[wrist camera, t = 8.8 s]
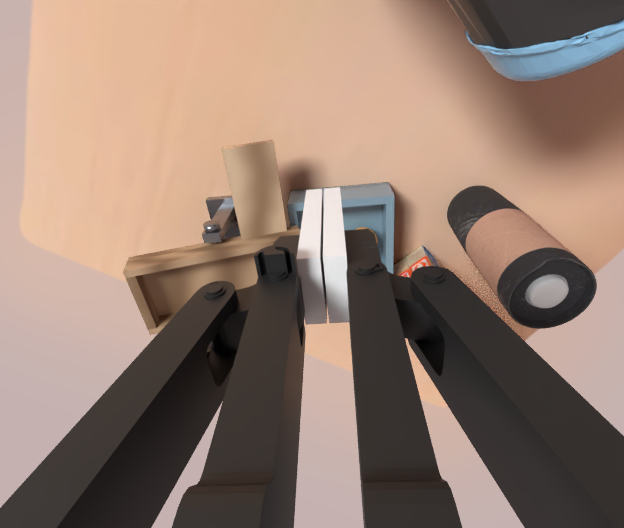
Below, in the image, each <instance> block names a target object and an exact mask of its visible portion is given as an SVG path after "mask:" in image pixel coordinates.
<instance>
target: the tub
mask: <svg viewBox="0 0 624 528" xmlns="http://www.w3.org/2000/svg"><path fill="white" fill-rule="evenodd" d="M338 187H340V192H341V203H342V213H343V224H344V230H355V229H357V228H359V227H367V228H369V229H371V230H372V231H374V233H375V234H376V236H377V239H378V244H377V247H378V250H379V254H380V257H381V261H382V263H383V264H384V265H385V266H386V268H387V271H388V272H390V273H392V274H393V258H394V193H393V191H392V189H391V187H390V185H389V182H385V183H373V184H362V185H350V186H338ZM327 188H336V187H327ZM315 189H322V194H323V205H324V188H315ZM306 190H313V189H303V190H292V191H291V192H290V196H289V200H288V204H287V206H288V213H289V220H290V227H291V226H296V225H298V227H299V229H300V230H301V223H302V216H303V209H304V202H305V195H306Z"/></svg>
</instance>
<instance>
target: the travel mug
mask: <svg viewBox="0 0 624 528" xmlns="http://www.w3.org/2000/svg"><path fill="white" fill-rule="evenodd" d="M447 218H448V222H449V224H450V226H451V228H452V230H453V231H454V233H455V235H456V236H457V238H458V240H459V241H460V243H461V245H462V246H463V248H464V250H465V251H466V253H467V255H468V256H469V258H470V259H471V261H472V262H473V263H474V265H475V266H476V268H477V269H478V271H479V272H480V273H481V275H482V276H483V278H484V279H485V280H486V282H487V283H488V285H489V286H490V288H491V289H492V290H493V292H494V293H495V295H496V296H497V297H498V299H499V300H500V302H501V303H502V305H503V306H504V307H505V309H506V310H507V312H508V313H509V314H510V316H511V317H512V318H513V319H514V320H515V321H516V322H518V323H519V324H521V325H523V326H526V327H530V328H538V329H541V328H550V327H555V326H558V325H561V324H564V323H566V322H568V321H570V320H572V319H574V318H575V317H577V316H578V315H579V314H580V313H582V312H583V311H584V310H585V309H586V308H587V307H588V306H589V304H590V303H591V301H592V300H593V298H594V295H595V293H596V287H597V286H596V285H597V284H596V279H595V276H594V274H593V272H592V271H591V270H590V269H589V268H588V267H587V266H586V265H585V264H584V263H583V262H582V261H580V260H579V259H578V258H577V257H576V256H575V255H573V254H572V253H571V252H570V251H569V250H568V249H566V248H565V247H564V246H563V245H562V244H561V243H560V242H558V241H557V240H556V239H555V238H554V237H553V236H551V235H550V234H549V233H548V232H547V231H546V230H544V229H543V228H542V227H541V226H540V225H539V224H538V223H536V222H535V221H534V220H533V219H532V218H531V217H529V216H528V215H527V214H526V213H524V212H523V211H522V210H520V209H519V208H518V207H516V206H515V205H514V204H512V203H511V202H510V201H508V200H507V199H506V198H504V197H503V196H502V195H500V194H499V193H498V192H496V191H495V190H493V189H491V188H489V187H486V186H473V187H469V188H467V189H464V190H463V191H461V192H460V193H458V194H457V195H456V196H455V197H454V198H453V200H452V201H451V203H450V205H449V207H448V212H447Z"/></svg>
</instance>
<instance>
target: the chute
mask: <svg viewBox="0 0 624 528" xmlns="http://www.w3.org/2000/svg"><path fill="white" fill-rule="evenodd" d="M222 154H223V158H224V163H225V167H226V171H227V176H228V180H229V185H230V189H231V194H232V198H233V203H234V207H235V212H236V216H237V221H238V225H239V230H240V234H241V236H239V237H233V238H228V239H223V240H222V242H216V243H202V244H197V245H191V246H186V247H181V248H176V249H170V250H165V251H160V252H155V253H149V254H144V255H139V256H134V257H129V259H128V261H127V264H126V266H125V268H124V271H123V273H124V275H125V278H126V280H127V282H128V285H129V287H130V289H131V291H132V294H133V296H134V299H135V301H136V303H137V306H138V308H139V310H140V312H141V315H142V317H143V319H144V322H145V324H146V326H147V329H148V331H149V333H150V335H152V334H156V333H159V332H160V331H161V330H162V329H163V328H164V327H165V326H166V325H167V323H168V322H169V321H170V320H171V319H172V318H173V317H174V316H175V315H176V313H177V312H178V311H179V310H180V309H181V308H182V307H183V306H184V305H185V304H186V302H187V301H188V300H189V299H190V298H191V297H192V296H193V295H194V294H195V293H196V291H197V290H199V289H200V288H201V287H202V286H204V285H206V284H208V283H211V282H215V281H227V282H231V283H232V284H234V286H235V290H239V289H243V288H246V287H249V286H252V285H254V284H256V283H257V279H258V274H257V269H256V265H255V260H254V255H255V253H256V252H257V251H259V250H260V249H262V248H265V247H267V246H272V245H273V244H274V242H275V241H276V240H277V239H278V238H279V237H280V236H290V235H300V229H299V227H298V225H296V226H291V227H286V221H285V214H284V208H283V201H282V194H281V188H280V181H279V174H278V168H277V161H276V154H275V148H274V142H273V140H269V141H262V142H256V143H249V144H243V145H236V146H229V147H223V148H222Z"/></svg>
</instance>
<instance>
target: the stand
mask: <svg viewBox="0 0 624 528" xmlns="http://www.w3.org/2000/svg"><path fill="white" fill-rule="evenodd" d="M206 203H207V207H208V211H209V215H210V218H211V221H207V222H205V223H204V224H203V226H204V232H203V233H202V236H203V240H204V243H216V242H222V240H223V239H228V238H233V237H239V236H241V234H240V230H239V225H238V221H237V216H236V212H235V207H234V203H233V198H232V196H222V197H210V198H207V199H206Z"/></svg>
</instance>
